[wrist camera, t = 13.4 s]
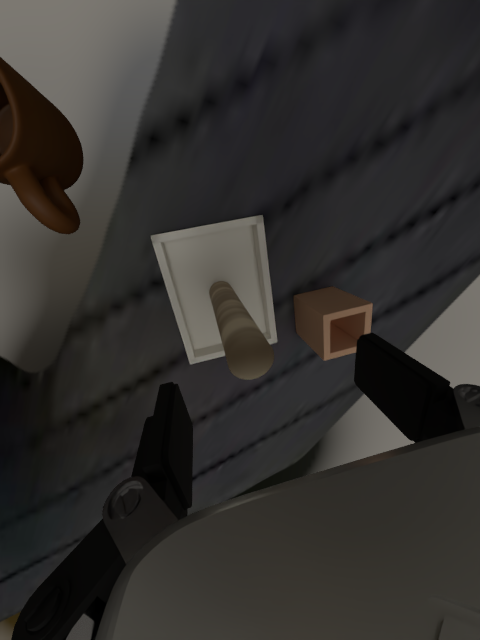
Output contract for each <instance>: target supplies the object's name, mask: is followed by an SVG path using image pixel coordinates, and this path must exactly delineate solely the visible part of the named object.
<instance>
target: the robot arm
mask: <svg viewBox="0 0 480 640" xmlns="http://www.w3.org/2000/svg"><path fill="white" fill-rule="evenodd" d="M354 381H355V384H356V385H357V387H358V388H359V389H360V390H361V391H362V392H363V393H364V394H365V395H366V396H367V397H368V398H369V399H370V400H371V401H372V402H373V403H374V404H375V405H376V406H377V407H378V408H379V409H380V410H381V411H382V412H383V413H384V414H385V415H386V416H387V417H388V418H389V419H390V420H391V422H392V423H393V424H394V425H395V426H396V427H397V428H398V429H399V430H400V431H401V432H402V433H403V434H404V435H405V436H406V437H407V438H408V439H409V440H411V441H414V442H415V443H414V444H410V445H407V446H404V447H400V448H397V449H394V450H390V451H387V452H383V453H380V454H377V455H373V456H370V457H367V458H364V459H360V460H357V461H353V462H350V463H347V464H344V465H340V466H337V467H334V468H330V469H327V470H324V471H320V472H317V473H314V474H310V475H307V476H304V477H301V478H297V479H294V480H291V481H288V482H284V483H281V484H278V485H275V486H271V487H268V488H265V489H262V490H259V491H255V492H252V493H249V494H246V495H243V496H240V497H237V498H234V499H231V500H228V501H225V502H222V503H219V504H215V505H213V506H210V507H208V508H205V509H202V510H200V511H197V512H195V513H192V514H190V515H188V516H187V508H191V506H192V461H193V426H192V422H191V419H190V416H189V414H188V411H187V408H186V405H185V403H184V400H183V397H182V394H181V392H180V389H179V386H178V384H174V383H173V382H170V383H166V384H162V385H160V387H159V392H158V396H157V401H156V405H155V410H154V415H153V416H151V417H147V419H146V421H145V424H144V428H143V432H142V436H141V440H140V444H139V448H138V452H137V456H136V460H135V464H134V468H133V472H132V476H131V477H130V478H128V479H125V480H123V481H122V482H121V483H119V484H118V485H117V486H116V487H115V488H114V489H113V490H112V491H111V492H110V494H109V496H108V497H107V499H106V501H105V503H104V506H103V510H102V517H103V519H102V520H101V521H100V522H99V523H98V524H97V525H96V526H95V527H94V529H93V530H92V531H91V532H90V533H89V534H88V535H87V536H86V537H85V538H84V539H83V540H82V541H81V542H80V543H79V545H78V546H77V547H76V548H75V549H74V550H73V551H72V552H71V553H70V554H69V555H68V556H67V557H66V558H65V559H64V561H63V562H62V563H61V564H60V565H59V566H58V567H57V568H56V569H55V570H54V571H53V572H52V573H51V574H50V576H49V577H48V578H47V579H46V580H45V581H44V582H43V583H42V584H41V585H40V586H39V587H38V588H37V590H36V591H35V592H34V593H33V595H32V596H31V597H30V598H29V600H28V601H27V603H26V605H25V606H24V608H23V609H22V611H21V613H20V615H19V617H18V620H17V622H16V624H15V627H14V631H13V635H12V640H480V386H477V385H470V384H461V385H458V386H456V387H455V388H454V389H453V388H452V387H450V386H449V385H450V382H449V381H448V380H446V379H445V378H443V377H442V376H440V375H438V374H437V373H435V372H434V371H432V370H431V369H429V368H427V367H426V366H424V365H423V364H421V363H419V362H418V361H416V360H415V359H413V358H412V357H410V356H409V355H407V354H406V353H404V352H402V351H401V350H399V349H398V348H396V347H395V346H393V345H391V344H390V343H388V342H387V341H385V340H384V339H382V338H380V337H379V336H377V335H376V334H374V333H368V334H364V335H361V336H360V337H359V339H358V340H357V346H356V360H355V375H354Z"/></svg>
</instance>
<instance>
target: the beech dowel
mask: <svg viewBox="0 0 480 640" xmlns="http://www.w3.org/2000/svg"><path fill="white" fill-rule="evenodd" d="M209 295H210V299H211V303H212V306H213V310H214V314H215V318H216V321H217V325H218V329H219V333H220V337H221V340H222V344H223V348H224V352H225V356H226V359H227V363H228V367H229V369H230V371H231V373H232V374H233V375H235V376H236V377H238V378H240V379H246V380H250V379H255V378H258V377H260V376H262V375H264V374H265V373H266V372H267V371H268V370H269V369H270V367H271V366H272V364H273V360H274V352H273V349H272V347H271V346H270V344H269V343H268V341H267V340H266V338H265V337H264V335H263V334H262V332H261V331H260V329H259V328H258V326H257V325H256V323H255V322H254V320H253V319H252V317H251V316H250V314H249V312H248V311H247V309H246V308H245V306H244V305H243V303H242V302H241V300H240V299H239V297H238V296H237V294H236V293H235V291H234V290H233V288H232V287H231V285H230V284H229V283H227V282H225V281H218V282H215V283H214V284H213V285H212V286H211V288H210V290H209Z"/></svg>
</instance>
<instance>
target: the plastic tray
mask: <svg viewBox="0 0 480 640" xmlns="http://www.w3.org/2000/svg"><path fill="white" fill-rule="evenodd" d="M150 237H151V240H152V243H153V247H154V250H155V253H156V256H157V260H158V263H159V266H160V269H161V272H162V276H163V279H164V282H165V285H166V288H167V292H168V295H169V298H170V301H171V304H172V308H173V311H174V314H175V317H176V320H177V324H178V327H179V330H180V333H181V336H182V340H183V343H184V346H185V349H186V352H187V356H188V359H189V362H190V364H194V363H198V362H202V361H206V360H210V359H214V358H218V357H222V356H225V352H224V348H223V344H222V340H221V337H220V333H219V329H218V325H217V321H216V318H215V314H214V310H213V306H212V303H211V299H210V295H209V290H210V288H211V286H212V285H213V284H214V283H215V282H218V281H225V282H227V283H229V284H230V285H231V287H232V288H233V290H234V291H235V293H236V294H237V296H238V297H239V299H240V300H241V302H242V303H243V305H244V306H245V308H246V309H247V311H248V312H249V314H250V316H251V317H252V319H253V320H254V322H255V323H256V325H257V326H258V328H259V329H260V331H261V332H262V334H263V335H264V337H265V338H266V340H267V341H268V343H269V344H273V343H277V334H276V326H275V317H274V308H273V300H272V291H271V282H270V274H269V265H268V256H267V247H266V239H265V230H264V221H263V215H259V216H253V217H248V218H242V219H237V220H232V221H226V222H221V223H215V224H210V225H205V226H199V227H194V228H189V229H183V230H178V231H172V232H167V233H162V234H156V235H151V236H150Z"/></svg>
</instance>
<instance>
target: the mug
mask: <svg viewBox="0 0 480 640" xmlns="http://www.w3.org/2000/svg"><path fill="white" fill-rule="evenodd" d="M82 168H83V151H82V147H81V143H80V141H79V138H78V136H77V134H76V132H75V130H74V128H73V127H72V125H71V124H70V122H69V121H68V120H67V118H66V117H65V116H64V115H63V114H62V113H61V112H60V110H58V109H57V108H56V107H55V106H54V105H53V104H52V103H51V102H50V101H49V100H48V99H47V98H45V97H44V96H43V95H42V94H41V93H40V92H39V91H37V89H35V88H34V87H33V86H32V85H31V84H30V83H29V82H28V81H27V80H25V79H24V78H23V77H22V76H21V75H20V74H19V73H18V72H16V71H15V70H14V69H13V68H12V67H11V66H10V65H9V64H8V63H6V62H5V61H4V60H3V59H2V58H1V57H0V183H3V184H7V185H11V186H12V188H13V189H14V191H15V192H16V194H17V196H18V198H19V199H20V201H21V203H22V204H23V205H24V206H25V208H27V210H28V211H29V212H30V213H31V214H32V215H33V216H34V217H35V218H36V219H37V220H39V222H41V223H42V224H43V225H45V226H46V227H48V228H49V229H51V230H53V231H56V232H58V233H62V234H71V233H74V232H76V231H77V230H78V228H79V225H80V218H79V215H78V212H77V210H76V208H75V206H74V205H73V203H72V202H71V200H70V199H69V197H68V196H67V194H66V193H65V192H64V190H65V189H67V188H69V187H71V186H72V185H73V184H74V183H75V182H76V181H77V180H78V178H79V176H80V174H81V171H82Z"/></svg>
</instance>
